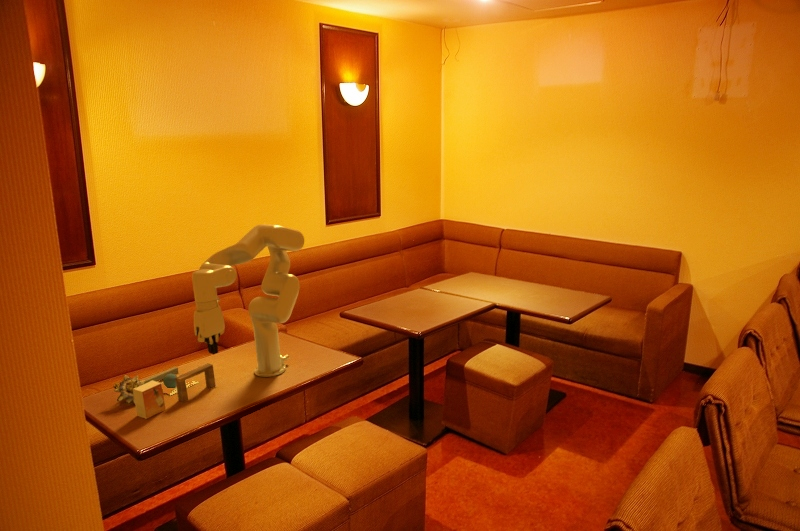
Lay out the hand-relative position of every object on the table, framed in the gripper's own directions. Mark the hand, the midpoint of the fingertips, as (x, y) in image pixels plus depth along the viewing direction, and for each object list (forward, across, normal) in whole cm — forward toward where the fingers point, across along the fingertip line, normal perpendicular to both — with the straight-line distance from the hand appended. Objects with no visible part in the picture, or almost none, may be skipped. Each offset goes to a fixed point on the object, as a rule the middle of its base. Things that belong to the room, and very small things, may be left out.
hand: (213, 352), depth 202 cm
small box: (+19, +18, -15) cm, 30 cm away
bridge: (+19, 0, -13) cm, 23 cm away
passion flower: (+19, +16, -31) cm, 40 cm away
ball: (+16, +2, -27) cm, 31 cm away
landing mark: (+19, 0, -27) cm, 33 cm away
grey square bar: (+19, 0, -37) cm, 42 cm away
